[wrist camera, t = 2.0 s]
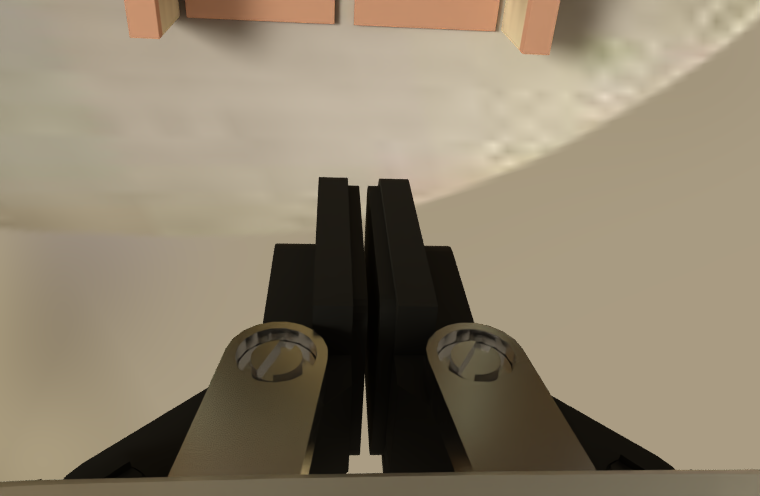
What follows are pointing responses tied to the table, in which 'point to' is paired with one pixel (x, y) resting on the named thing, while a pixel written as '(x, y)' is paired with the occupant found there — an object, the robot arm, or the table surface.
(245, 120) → the table surface
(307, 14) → the pads
